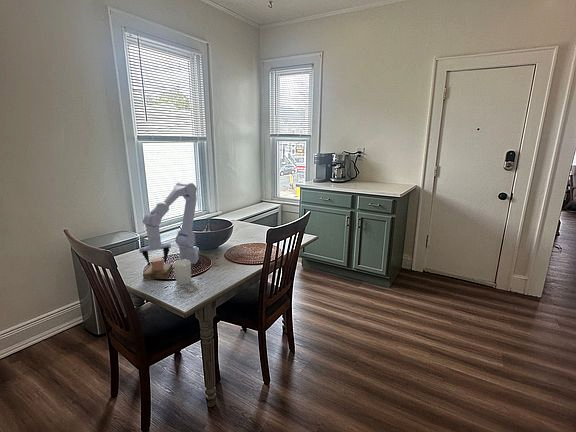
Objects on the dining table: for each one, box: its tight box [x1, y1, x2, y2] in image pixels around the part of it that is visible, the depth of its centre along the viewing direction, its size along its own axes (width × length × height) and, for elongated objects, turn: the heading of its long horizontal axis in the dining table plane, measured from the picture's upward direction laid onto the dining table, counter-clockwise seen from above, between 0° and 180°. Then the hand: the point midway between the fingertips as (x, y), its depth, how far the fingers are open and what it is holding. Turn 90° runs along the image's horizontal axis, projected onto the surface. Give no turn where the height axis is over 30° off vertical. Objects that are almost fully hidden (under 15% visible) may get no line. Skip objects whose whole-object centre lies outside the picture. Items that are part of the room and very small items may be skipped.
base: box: [142, 263, 174, 280], centre depth 161 cm, size 11×11×3 cm
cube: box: [150, 256, 164, 271], centre depth 160 cm, size 5×5×5 cm
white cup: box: [172, 259, 192, 286], centre depth 151 cm, size 8×8×10 cm
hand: (157, 263), depth 160 cm, fingers open, 7 cm apart
